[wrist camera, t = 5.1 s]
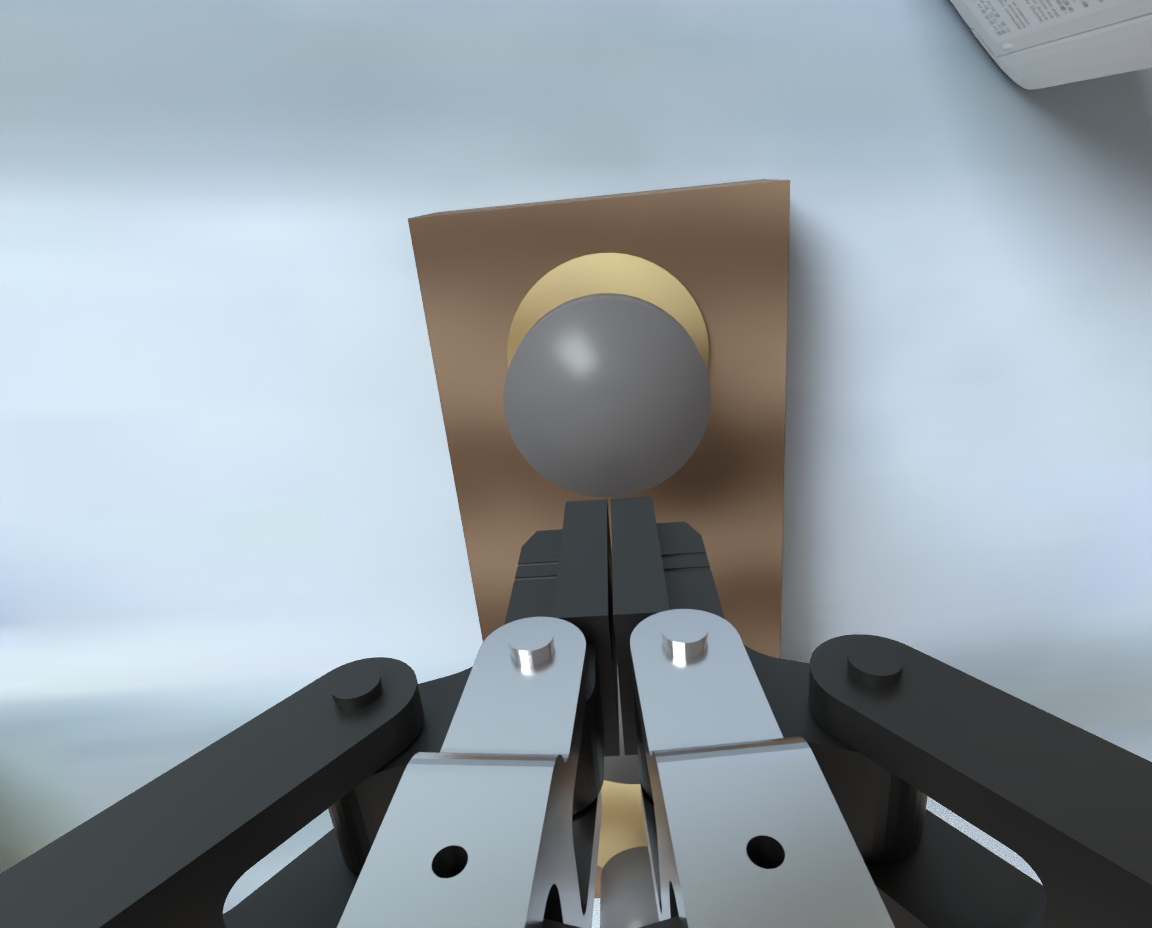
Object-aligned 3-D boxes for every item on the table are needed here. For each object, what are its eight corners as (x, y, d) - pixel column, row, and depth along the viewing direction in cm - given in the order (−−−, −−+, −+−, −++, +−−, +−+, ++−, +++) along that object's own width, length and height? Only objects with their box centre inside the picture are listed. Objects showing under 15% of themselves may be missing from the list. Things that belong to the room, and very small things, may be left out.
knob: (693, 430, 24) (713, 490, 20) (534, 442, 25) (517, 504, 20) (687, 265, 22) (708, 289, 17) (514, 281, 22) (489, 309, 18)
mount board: (758, 822, 37) (775, 898, 33) (536, 829, 38) (528, 903, 34) (763, 179, 25) (791, 180, 21) (436, 212, 26) (406, 219, 22)
